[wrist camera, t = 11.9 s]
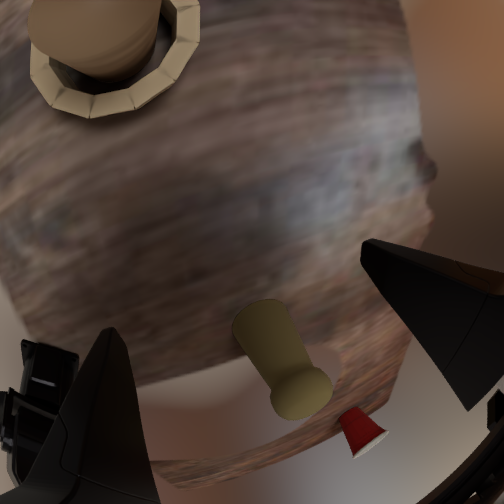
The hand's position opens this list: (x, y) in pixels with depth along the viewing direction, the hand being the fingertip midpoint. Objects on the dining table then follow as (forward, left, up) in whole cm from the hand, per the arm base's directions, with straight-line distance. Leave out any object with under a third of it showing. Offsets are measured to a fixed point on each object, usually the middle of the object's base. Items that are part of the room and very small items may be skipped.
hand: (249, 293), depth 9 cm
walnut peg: (+7, +9, -12) cm, 17 cm away
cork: (-10, -12, -12) cm, 20 cm away
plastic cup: (-36, -56, -12) cm, 68 cm away
